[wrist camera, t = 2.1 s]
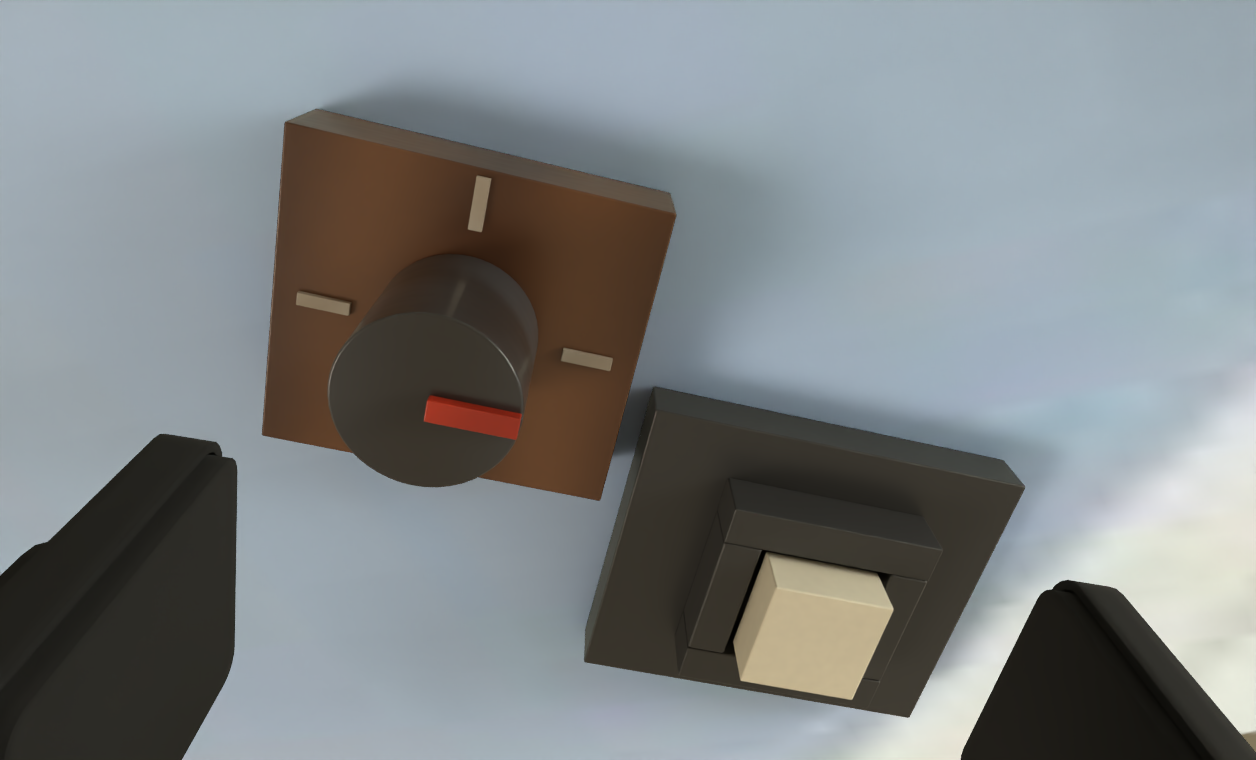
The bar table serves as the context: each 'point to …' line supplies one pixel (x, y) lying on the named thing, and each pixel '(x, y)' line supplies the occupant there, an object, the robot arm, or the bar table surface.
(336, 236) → the control panel
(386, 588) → the bar table surface
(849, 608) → the key
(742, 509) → the square rocker plate
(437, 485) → the dial
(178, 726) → the robot arm
